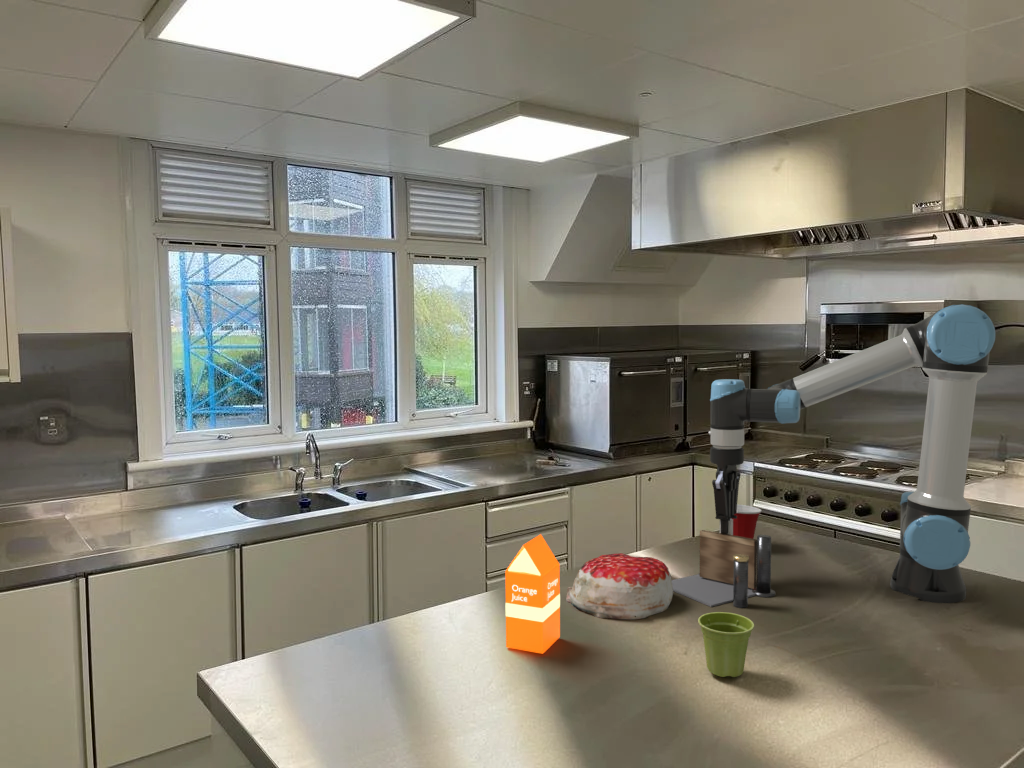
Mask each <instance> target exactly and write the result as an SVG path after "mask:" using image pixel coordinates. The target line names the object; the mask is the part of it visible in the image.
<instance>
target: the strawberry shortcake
mask: <svg viewBox="0 0 1024 768" xmlns="http://www.w3.org/2000/svg"><path fill="white" fill-rule="evenodd" d="M672 580H673V579H672V576H671V573H670V570H669V567H668V566H667V565H666V564H665V562H663V561H661V560H660V559H658V558H655V557H651V556H650V557H649V556H632V555H629V554H626V553H619V552H618V553H611V554H601V555H600V556H598V557H595V558H592V559H590V560H588V561H586V562H584V564H583V565H581V567H580V569H578V570H577V573H576V576H575V578H574V580H573V584H572V586H568V587H567V589H566V600H565V602H567V603H570V604H571V605H572V607H574V608H575V609H577V610H579V611H581V612H584V613H587V614H590V615H592V616H594V617H597V618H601V619H608V618H609V619H613V620H615V619H616V620H639V619H640V620H641V619H645V618H648V617H650V616H652V615H653V616H654V615H655V614H661V613H663V612H664V611H666V610H668V609H669V606H670V604H671V602H672V601H673V595H674V591H673V585H672Z"/></svg>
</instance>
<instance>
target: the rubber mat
mask: <svg viewBox="0 0 1024 768" xmlns="http://www.w3.org/2000/svg"><path fill="white" fill-rule="evenodd" d="M671 580H672V585H673V593H677V594H679V595H682V596H683V597H686V598H689V599H691V600H693V601H696V602H698V603H700V604H703V605H706V606H708V607H710V608H712V607H716V606H720V605H724V604H728V603H732V602H733V584H730V583H725V582H721V581H717V580H712V579H708V578H703V577H700V573H698V574H694V575H689V576H684V577H679V578H675V579H671ZM756 588H757V586H756ZM755 596H756V594H755V593H753V592H752V588H748V598H752V597H755ZM756 597H757V596H756Z"/></svg>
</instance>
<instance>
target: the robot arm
mask: <svg viewBox="0 0 1024 768" xmlns="http://www.w3.org/2000/svg"><path fill="white" fill-rule="evenodd" d="M995 341H996V328H995V325H994V323H993V321H992V319H991V318H990V317H989V315H988V314H987V313H986V312H985V311H983V310H981V309H980V308H978V307H976V306H974V305H970V304H969V305H968V304H962V303H961V304H952V305H948V306H946V307H943V308H941V309H938V310H937V311H935V312H934V313H932V314H931V315H929V316H927V317H926V318H925V319H922V320H920V321H919V322H917V323H915V324H911V325H909V326H907V327H904V329H903V330H902V333H901V334H900V335H897V336H895V337H891V338H890V339H888V340H885V341H882V342H880V343H877V344H874V345H873V346H870V347H868V348H864V349H862V350H860V351H857V352H855V353H853V354H849V355H847V356H844V357H842V358H840V359H838V360H834V361H832V362H830V363H829V362H828V363H827V364H825V365H822V366H820V367H818V368H815V369H812V370H809V371H808V372H805V373H803V374H800V375H797V376H795V377H793V378H791V379H787V380H784V381H782V382H780V383H776V384H773V385H771V386H769V387H767V388H760V389H759V388H746V386H745V381H744V380H743V379H734V378H733V379H730V378H728V379H727V378H725V379H724V378H722V379H715V380H714V381H712V383H711V387H710V388H711V389H710V399H709V401H710V403H709V404H710V407H709V408H710V411H709V412H710V413H709V414H710V427H709V428H710V430H709V431H708V435H709V436H710V444H711V445H712V446H711V447H710V449H709V461H710V462H711V464H713V465H716V466H717V467H716V472H715V479H712V482H711V483H712V487H713V496H714V508H715V509H714V510H715V519H716V520H719V533H721V534H728V535H733V519H732V518H734V519H737V516H736V515H734V514H736V512H737V504H738V498H739V486H740V479H741V472H740V471H739V472H738V469H737V466H740V465H742V464H744V462H745V460H744V459H745V455H744V454H745V449H744V447H743V446H744V445H745V422H749V423H751V422H756V423H774V424H782V425H783V424H796V423H798V422H799V421H800V419H801V410H803V409H806V408H808V407H810V406H814V405H815V404H818V403H820V402H823V401H826V400H829V399H831V398H834V397H837V396H840V395H842V394H845V393H847V392H849V391H853V390H855V389H857V388H861V387H863V386H866V385H868V384H871V383H873V382H876V381H878V380H881V379H885V378H887V377H889V376H892V375H895V374H898V373H899V372H903V371H905V370H907V369H910V368H913V367H919V368H921V369H922V370H923V372H924V373H925V374H926V375H927V376H928V389H927V397H926V404H925V405H926V406H925V416H924V423H923V433H922V440H921V441H922V442H921V447H920V458H919V466H918V467H919V468H918V475H917V476H918V477H917V485H916V490H915V491H904V492H903V493H902V494H901V496H900V503H899V506H900V526H899V527H900V533H899V535H900V536H899V556H898V560H897V562H896V564H895V567H894V568H893V572H892V575H891V577H890V589H891V590H892V591H895V592H898V593H901V594H904V595H907V596H911V597H914V598H917V600H918V601H922V602H928V603H936V604H953V603H960V602H963V601H965V600H966V599H967V587H966V584H965V581H964V577H963V575H962V572H961V568H960V564H962V562H964V560H965V559H966V558H967V556H968V554H969V552H970V550H971V549H970V548H971V539H970V535H969V528H970V527H969V526H970V518H971V509H972V505H971V504H970V503H969V502H968V501H967V500H966V498H965V488H966V479H967V478H966V477H967V469H968V462H969V454H970V453H969V452H970V445H971V438H972V436H971V435H972V430H973V429H972V427H973V420H974V410H975V404H976V395H977V386H978V385H977V384H978V382H979V381H980V380H981V379H982V378H983V377H985V376H986V375H988V369H989V361H990V352H991V350H992V349H993V347H994V344H995Z"/></svg>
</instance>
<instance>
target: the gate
mask: <svg viewBox="0 0 1024 768" xmlns="http://www.w3.org/2000/svg"><path fill="white" fill-rule="evenodd" d="M735 554H744V555H748V556H749V561H748V588H752V589H755V588H756V587H757V538H756V539H754V538H753V539H751V538H745V537H740V536H734V535H728V534H721V533H720V532H717V531H711V530H707V529H706V530H705V529H701V530H699V574H700V577H703V578H708V579H712V580H717V581H721V582H725V583H730V584H733V579H734V560H733V555H735Z"/></svg>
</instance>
